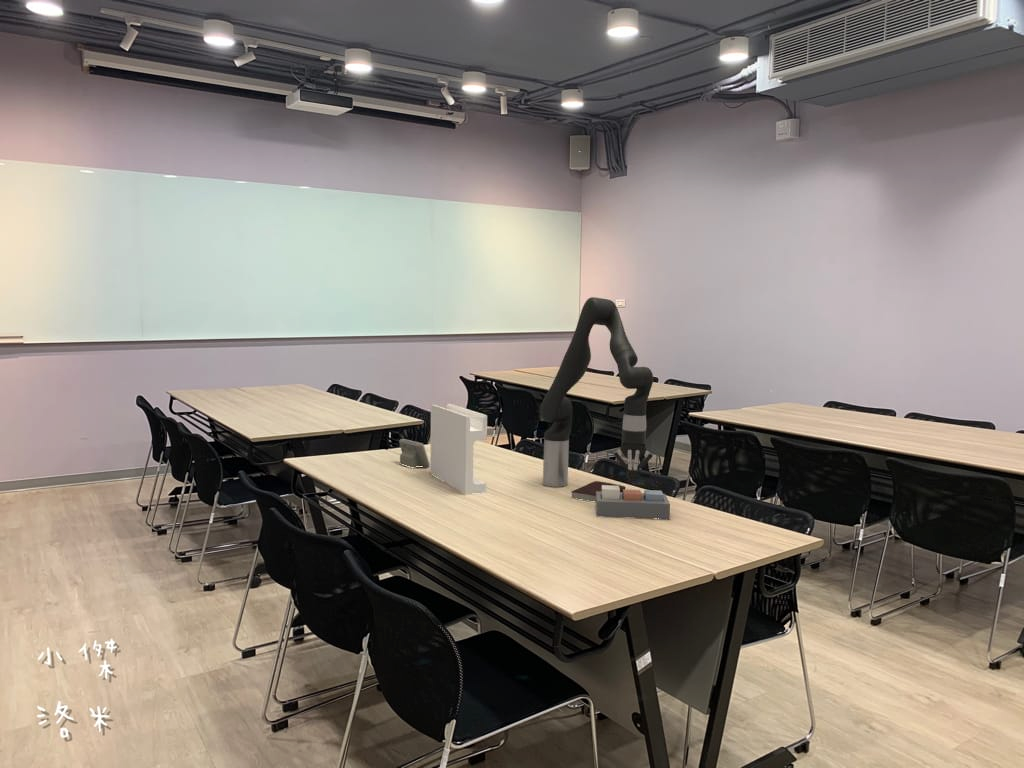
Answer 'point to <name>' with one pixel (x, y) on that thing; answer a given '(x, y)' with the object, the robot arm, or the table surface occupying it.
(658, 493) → the key blue
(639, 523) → the table surface
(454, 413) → the block
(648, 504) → the console
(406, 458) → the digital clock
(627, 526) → the table surface
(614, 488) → the key white
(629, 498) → the key terracotta
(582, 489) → the book
